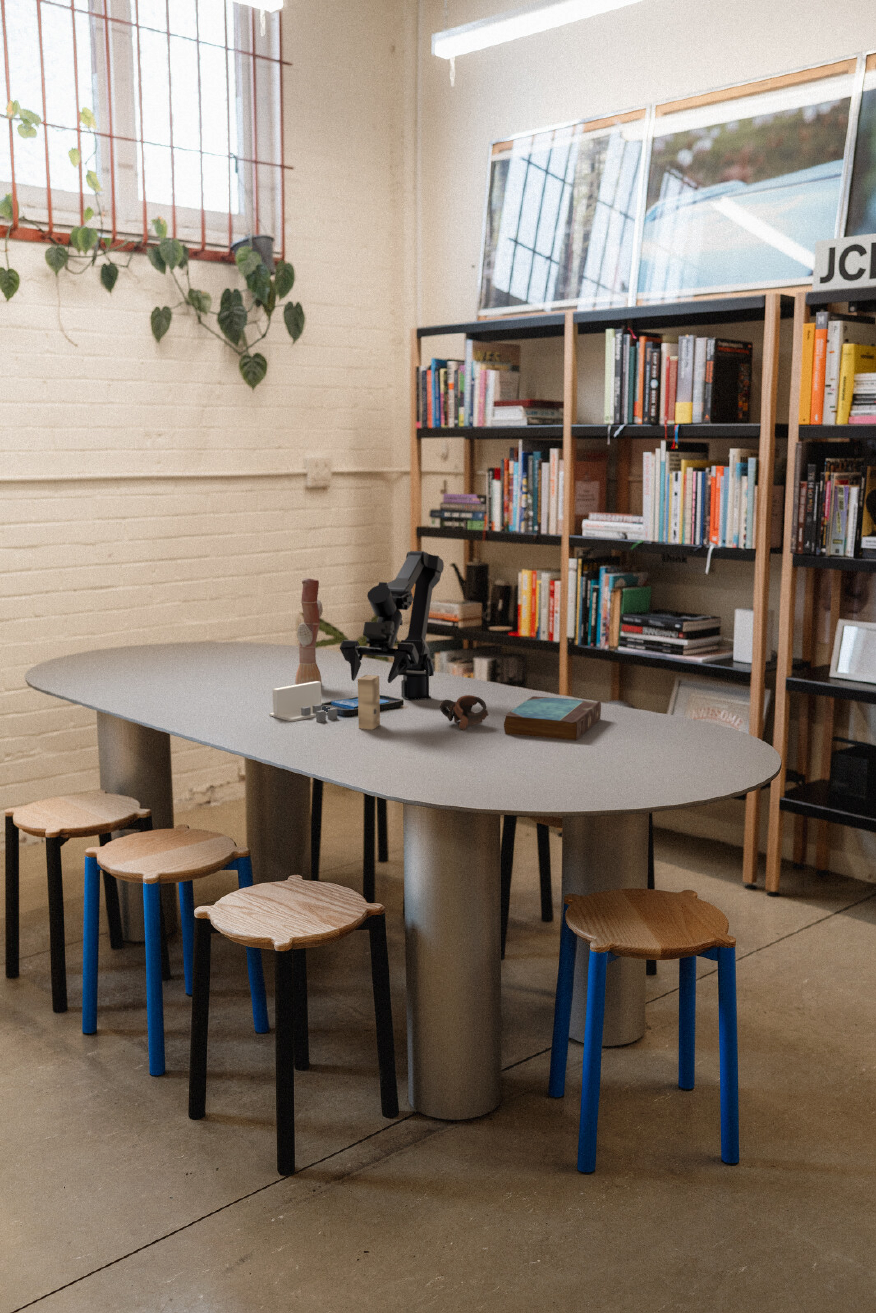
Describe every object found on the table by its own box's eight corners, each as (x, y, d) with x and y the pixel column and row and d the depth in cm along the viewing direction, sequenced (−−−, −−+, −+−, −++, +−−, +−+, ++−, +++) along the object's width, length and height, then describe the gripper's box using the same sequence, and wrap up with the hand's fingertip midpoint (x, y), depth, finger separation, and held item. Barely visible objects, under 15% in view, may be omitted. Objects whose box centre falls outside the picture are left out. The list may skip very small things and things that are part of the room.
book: (576, 743, 267) (577, 721, 266) (502, 736, 273) (503, 715, 272) (600, 721, 288) (601, 701, 287) (531, 715, 294) (531, 696, 293)
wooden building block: (366, 723, 284) (365, 674, 282) (380, 724, 283) (380, 675, 281) (358, 728, 279) (357, 678, 277) (373, 729, 278) (372, 679, 276)
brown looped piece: (488, 722, 287) (494, 697, 282) (478, 747, 280) (484, 722, 274) (441, 708, 289) (446, 683, 283) (430, 733, 281) (435, 707, 276)
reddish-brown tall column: (305, 689, 325) (302, 581, 319) (288, 685, 330) (285, 579, 324) (333, 683, 332) (331, 577, 327) (316, 680, 337) (314, 575, 332)
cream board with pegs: (313, 706, 303) (312, 680, 302) (350, 715, 293) (349, 688, 291) (269, 715, 293) (268, 688, 292) (305, 725, 283) (305, 696, 282)
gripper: (342, 607, 286) (324, 659, 277) (414, 610, 280) (399, 663, 271) (354, 634, 294) (338, 686, 286) (425, 638, 289) (410, 690, 280)
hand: (370, 680), depth 280 cm, fingers open, 9 cm apart
